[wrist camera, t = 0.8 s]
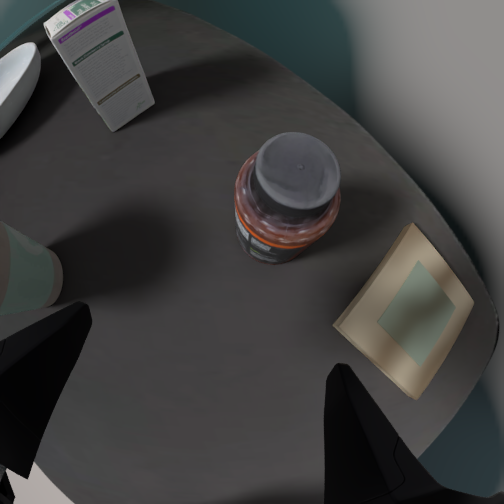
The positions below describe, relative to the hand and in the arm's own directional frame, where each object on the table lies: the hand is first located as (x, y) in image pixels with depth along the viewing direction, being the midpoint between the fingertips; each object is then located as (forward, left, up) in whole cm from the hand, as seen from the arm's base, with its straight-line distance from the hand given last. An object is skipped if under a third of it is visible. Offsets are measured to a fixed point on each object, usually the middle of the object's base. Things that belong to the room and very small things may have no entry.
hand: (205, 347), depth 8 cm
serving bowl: (+37, +27, -13) cm, 48 cm away
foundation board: (-6, -16, -13) cm, 22 cm away
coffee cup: (+8, +17, -13) cm, 23 cm away
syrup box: (+24, +5, -13) cm, 28 cm away
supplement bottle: (+6, -6, -13) cm, 15 cm away
